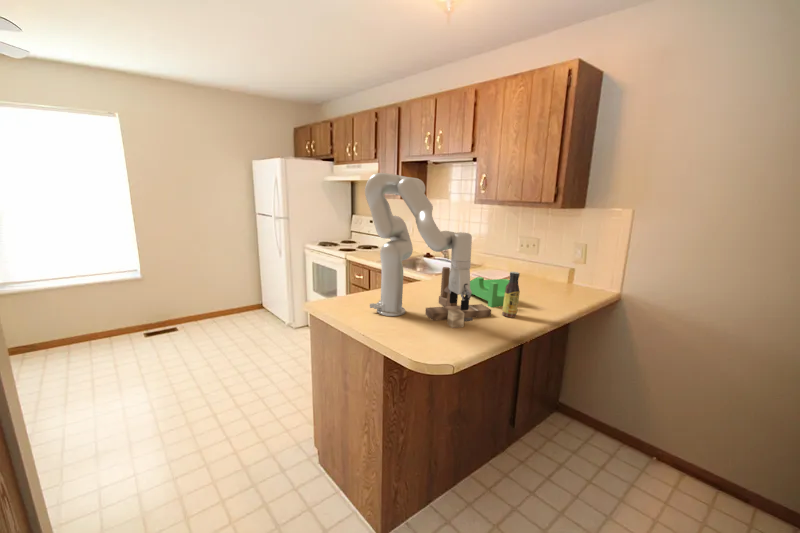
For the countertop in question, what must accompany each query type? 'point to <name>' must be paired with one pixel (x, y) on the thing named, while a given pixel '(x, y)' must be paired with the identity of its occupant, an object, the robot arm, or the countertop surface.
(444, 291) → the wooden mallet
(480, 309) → the walnut board
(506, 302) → the sauce bottle
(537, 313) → the countertop surface
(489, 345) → the countertop surface
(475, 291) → the green cradle stand
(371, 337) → the countertop surface
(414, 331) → the countertop surface
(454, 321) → the block
